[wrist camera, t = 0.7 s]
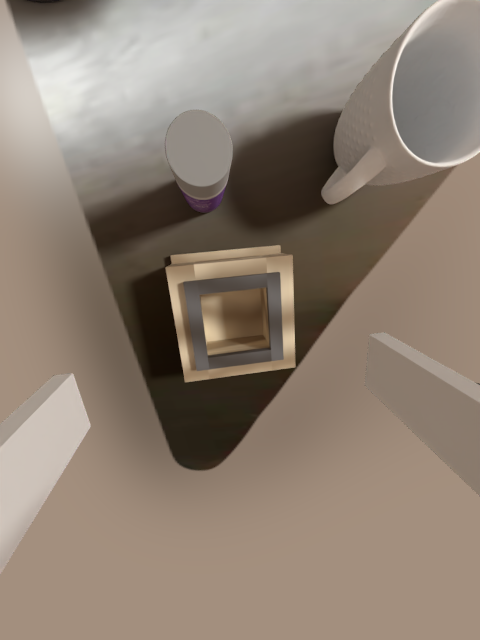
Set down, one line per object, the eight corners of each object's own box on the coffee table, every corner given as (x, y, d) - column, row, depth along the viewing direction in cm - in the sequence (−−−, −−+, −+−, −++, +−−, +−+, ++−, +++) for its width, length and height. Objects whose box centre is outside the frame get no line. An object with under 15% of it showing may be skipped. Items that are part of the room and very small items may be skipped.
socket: (171, 255, 33) (162, 258, 26) (278, 245, 34) (294, 245, 28) (189, 367, 38) (185, 392, 31) (282, 354, 39) (297, 377, 32)
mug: (334, 237, 35) (404, 234, 22) (276, 174, 32) (321, 130, 19) (417, 145, 32) (547, 85, 20) (365, 68, 29) (479, -59, 17)
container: (190, 217, 32) (176, 196, 17) (178, 175, 30) (152, 116, 16) (227, 207, 32) (242, 179, 18) (217, 166, 30) (224, 99, 16)
